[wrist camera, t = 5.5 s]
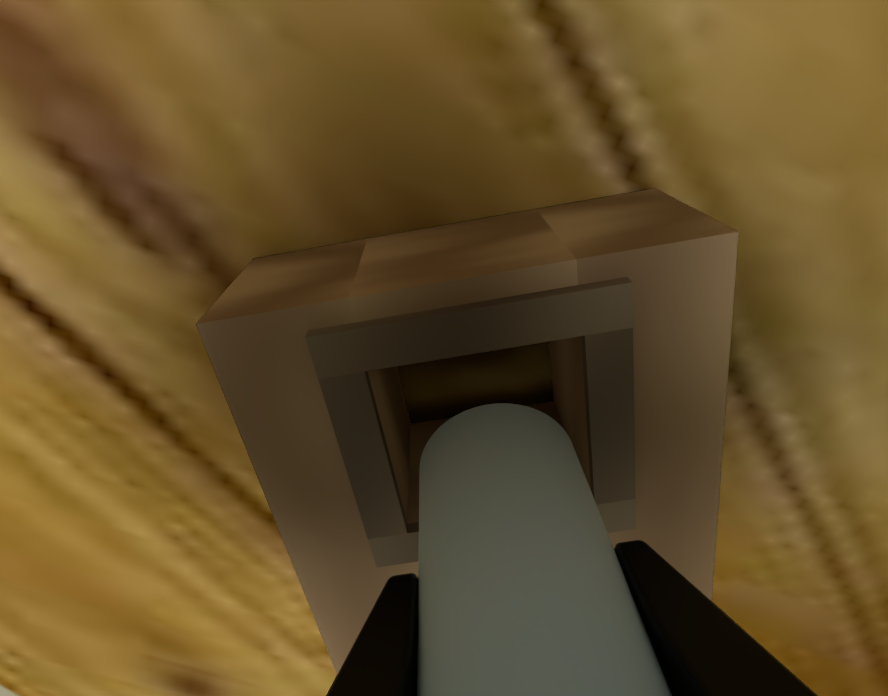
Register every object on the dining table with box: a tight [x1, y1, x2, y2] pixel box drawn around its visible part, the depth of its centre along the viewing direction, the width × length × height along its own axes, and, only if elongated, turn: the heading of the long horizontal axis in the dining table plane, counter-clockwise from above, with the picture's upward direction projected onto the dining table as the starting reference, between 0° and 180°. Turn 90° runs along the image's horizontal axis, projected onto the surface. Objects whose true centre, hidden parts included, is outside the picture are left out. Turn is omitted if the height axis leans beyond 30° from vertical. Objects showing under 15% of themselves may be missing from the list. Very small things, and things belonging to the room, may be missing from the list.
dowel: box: [417, 403, 672, 696], centre depth 7 cm, size 3×3×8 cm
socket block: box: [196, 188, 739, 674], centre depth 15 cm, size 10×14×4 cm
